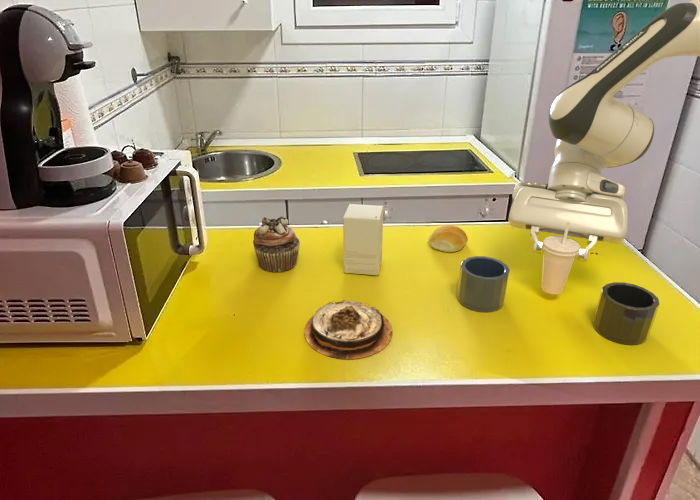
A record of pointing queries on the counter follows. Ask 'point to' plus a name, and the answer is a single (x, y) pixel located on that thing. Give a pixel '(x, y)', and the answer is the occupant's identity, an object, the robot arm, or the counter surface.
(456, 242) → the bread roll
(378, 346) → the frosted layer cake
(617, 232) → the robot arm
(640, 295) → the cup
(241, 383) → the counter surface
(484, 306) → the cup
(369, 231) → the white packaging box
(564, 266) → the smoothie
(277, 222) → the cupcake
